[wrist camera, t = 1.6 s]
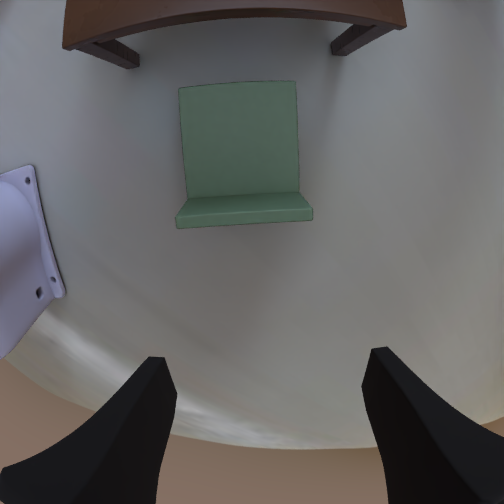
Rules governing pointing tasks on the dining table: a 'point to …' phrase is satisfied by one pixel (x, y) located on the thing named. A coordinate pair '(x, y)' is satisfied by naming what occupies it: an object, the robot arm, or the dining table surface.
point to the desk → (212, 8)
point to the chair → (240, 154)
